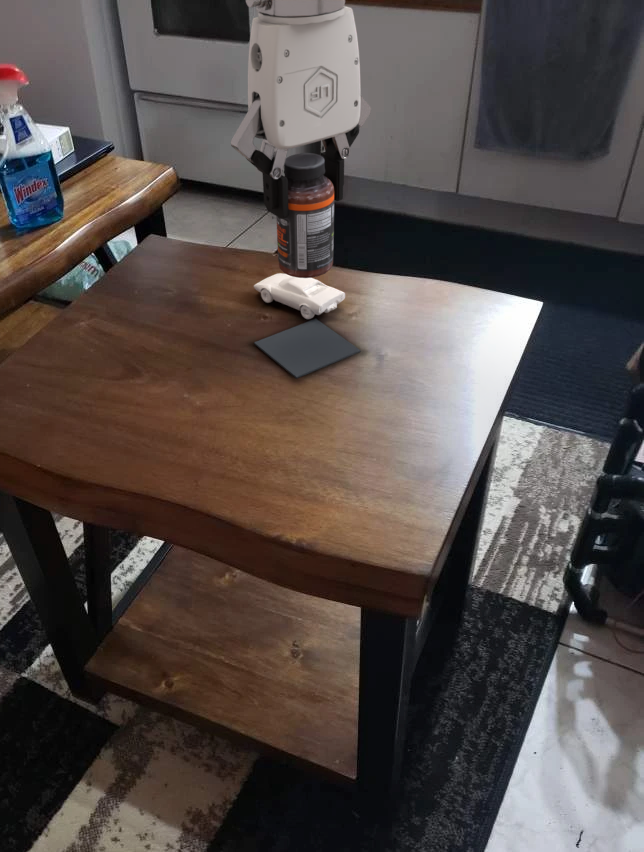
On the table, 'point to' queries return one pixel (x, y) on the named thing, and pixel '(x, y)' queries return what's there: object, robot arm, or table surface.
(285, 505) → the table surface
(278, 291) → the toy car
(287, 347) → the mat
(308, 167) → the supplement bottle
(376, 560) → the table surface
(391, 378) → the table surface
